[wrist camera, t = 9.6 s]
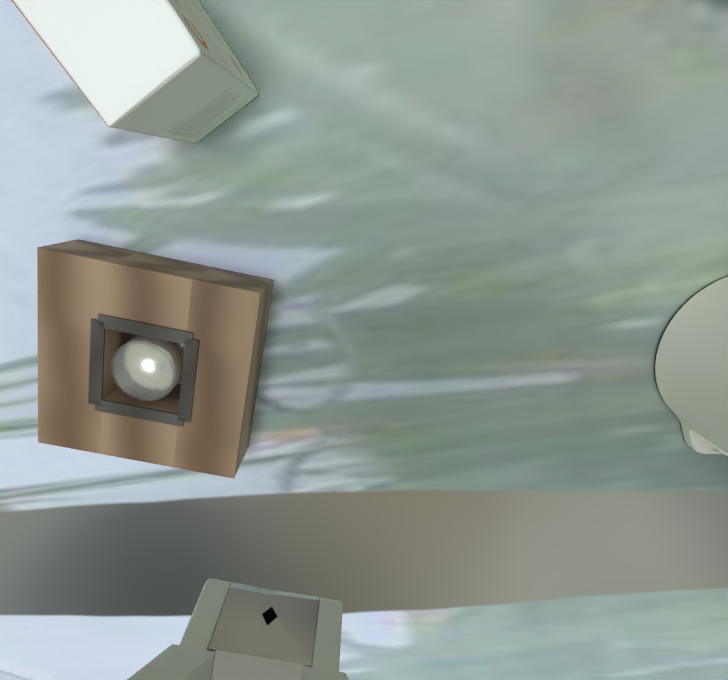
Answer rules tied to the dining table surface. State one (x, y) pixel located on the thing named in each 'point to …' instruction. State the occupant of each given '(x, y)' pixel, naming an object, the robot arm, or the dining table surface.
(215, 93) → the small box
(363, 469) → the dining table surface
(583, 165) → the dining table surface
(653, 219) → the dining table surface
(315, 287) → the dining table surface
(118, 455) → the socket block
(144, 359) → the peg
